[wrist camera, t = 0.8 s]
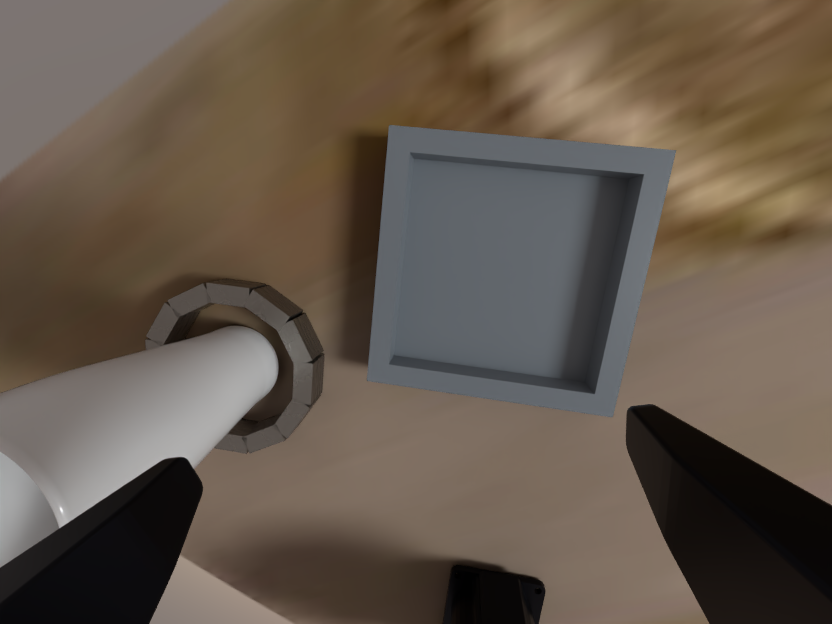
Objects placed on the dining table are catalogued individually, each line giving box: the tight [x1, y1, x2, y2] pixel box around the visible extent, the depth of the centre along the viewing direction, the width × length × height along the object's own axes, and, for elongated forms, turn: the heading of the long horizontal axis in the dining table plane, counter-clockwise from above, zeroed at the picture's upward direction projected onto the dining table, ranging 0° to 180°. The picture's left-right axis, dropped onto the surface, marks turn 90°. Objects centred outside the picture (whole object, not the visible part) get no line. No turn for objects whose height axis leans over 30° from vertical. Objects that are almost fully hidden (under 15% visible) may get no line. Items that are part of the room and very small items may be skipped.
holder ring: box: [145, 279, 324, 454], centre depth 25 cm, size 11×11×2 cm
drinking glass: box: [0, 326, 279, 567], centre depth 19 cm, size 7×7×15 cm
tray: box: [367, 125, 676, 417], centre depth 22 cm, size 14×14×2 cm
